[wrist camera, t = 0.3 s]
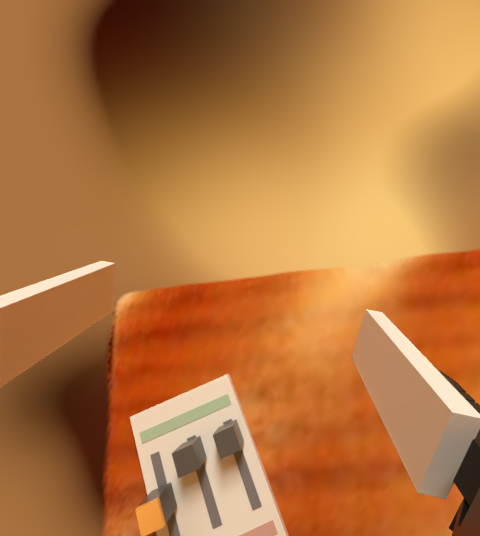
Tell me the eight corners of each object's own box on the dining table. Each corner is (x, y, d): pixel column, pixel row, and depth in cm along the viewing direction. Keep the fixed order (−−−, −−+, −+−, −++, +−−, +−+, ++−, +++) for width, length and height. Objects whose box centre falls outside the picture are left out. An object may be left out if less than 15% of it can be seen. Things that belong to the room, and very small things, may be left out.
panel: (292, 544, 37) (293, 555, 35) (178, 598, 36) (173, 612, 34) (229, 373, 45) (227, 374, 43) (135, 414, 45) (129, 417, 43)
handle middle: (206, 457, 39) (199, 468, 35) (187, 465, 39) (178, 478, 35) (200, 435, 40) (192, 444, 36) (181, 443, 40) (171, 453, 36)
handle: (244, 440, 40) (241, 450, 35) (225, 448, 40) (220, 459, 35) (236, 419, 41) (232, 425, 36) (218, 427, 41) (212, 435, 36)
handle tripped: (177, 506, 38) (163, 527, 33) (157, 515, 38) (141, 537, 33) (171, 482, 39) (157, 499, 34) (151, 490, 39) (135, 509, 34)
